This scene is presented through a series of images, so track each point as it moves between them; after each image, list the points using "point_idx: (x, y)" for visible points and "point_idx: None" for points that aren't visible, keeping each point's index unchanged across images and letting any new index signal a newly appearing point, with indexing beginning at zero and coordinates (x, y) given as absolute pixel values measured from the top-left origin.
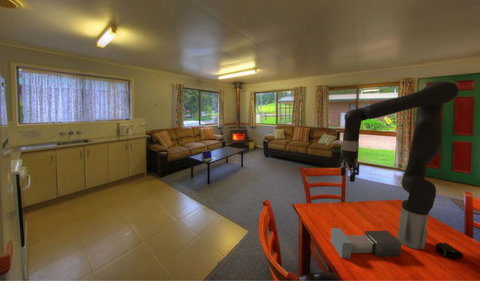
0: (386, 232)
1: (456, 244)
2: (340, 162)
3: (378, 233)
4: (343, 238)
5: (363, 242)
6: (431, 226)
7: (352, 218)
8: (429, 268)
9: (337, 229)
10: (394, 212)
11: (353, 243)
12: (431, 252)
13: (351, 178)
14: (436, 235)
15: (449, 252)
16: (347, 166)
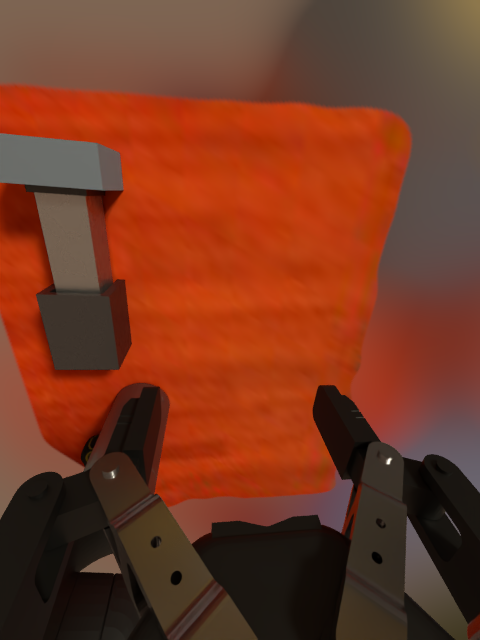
0: (107, 360)
1: None
2: (476, 542)
3: (97, 332)
4: (16, 157)
5: (50, 252)
6: (209, 483)
7: (261, 324)
8: (46, 380)
9: (88, 169)
10: (276, 452)
11: (38, 207)
12: None
13: (132, 419)
14: (174, 470)
15: (83, 451)
16: (189, 567)
